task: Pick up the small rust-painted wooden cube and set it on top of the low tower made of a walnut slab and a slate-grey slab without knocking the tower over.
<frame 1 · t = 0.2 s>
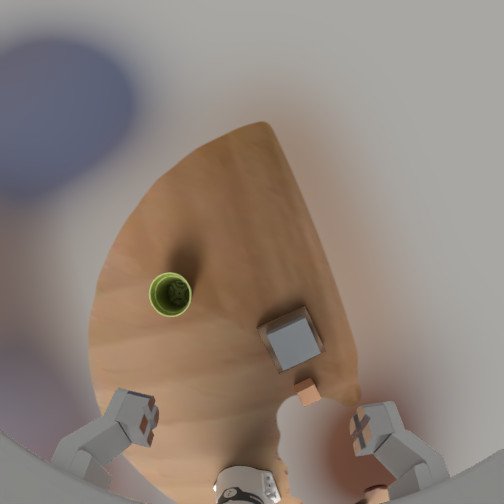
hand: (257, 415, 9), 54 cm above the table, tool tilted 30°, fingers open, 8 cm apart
plant pot: (180, 292, 63), on the table
rust cube: (305, 388, 61), on the table
lower tower block: (290, 337, 62), on the table, touching upper tower block
upper tower block: (292, 341, 59), point 3 cm above the table, touching lower tower block
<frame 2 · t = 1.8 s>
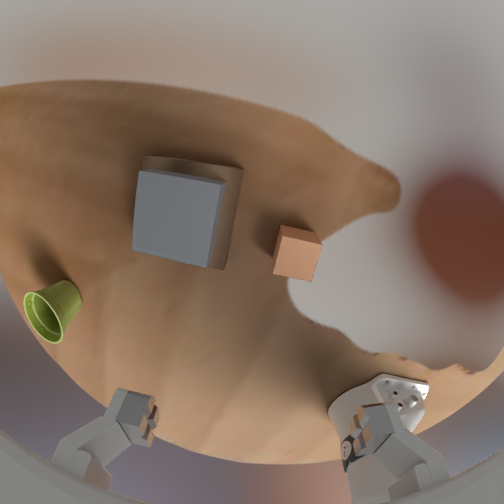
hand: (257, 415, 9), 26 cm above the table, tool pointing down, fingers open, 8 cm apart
plant pot: (70, 294, 40), on the table
rust cube: (293, 245, 34), on the table
lower tower block: (190, 206, 34), on the table, touching upper tower block
upper tower block: (181, 212, 31), point 3 cm above the table, touching lower tower block
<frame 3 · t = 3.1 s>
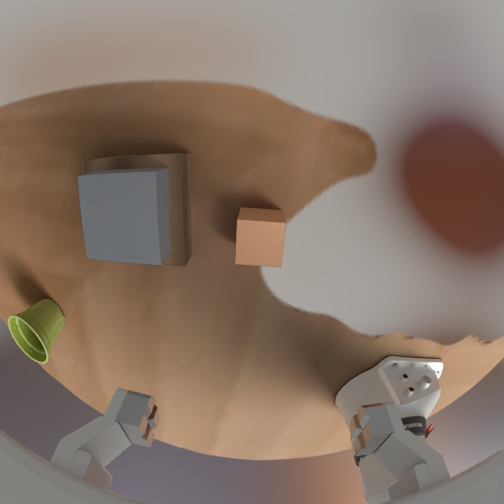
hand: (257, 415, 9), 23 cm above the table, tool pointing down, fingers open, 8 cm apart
plant pot: (53, 311, 37), on the table
rust cube: (260, 227, 30), on the table
lower tower block: (143, 204, 30), on the table, touching upper tower block
upper tower block: (131, 210, 27), point 3 cm above the table, touching lower tower block
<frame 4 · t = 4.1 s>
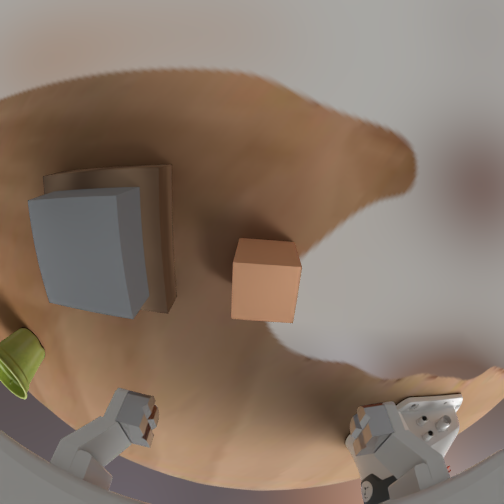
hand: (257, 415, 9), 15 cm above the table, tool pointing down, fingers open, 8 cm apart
plant pot: (32, 341, 30), on the table
rust cube: (264, 264, 23), on the table
lower tower block: (116, 230, 23), on the table, touching upper tower block
upper tower block: (97, 242, 20), point 3 cm above the table, touching lower tower block
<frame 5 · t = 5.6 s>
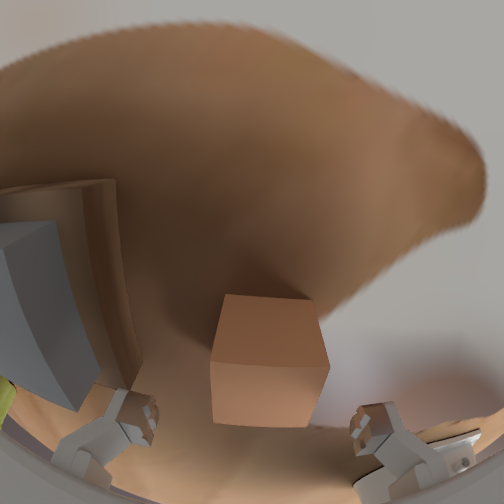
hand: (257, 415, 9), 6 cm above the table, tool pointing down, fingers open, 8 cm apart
plant pot: (2, 375, 22), on the table
rust cube: (265, 330, 15), on the table
lower tower block: (57, 271, 15), on the table, touching upper tower block
upper tower block: (25, 296, 11), point 3 cm above the table, touching lower tower block
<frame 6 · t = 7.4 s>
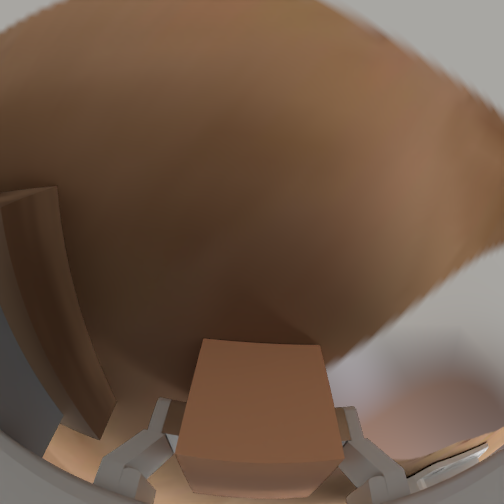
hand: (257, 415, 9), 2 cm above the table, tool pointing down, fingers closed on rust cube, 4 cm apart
rust cube: (257, 380, 11), on the table, touching gripper
lower tower block: (15, 296, 11), on the table, touching upper tower block
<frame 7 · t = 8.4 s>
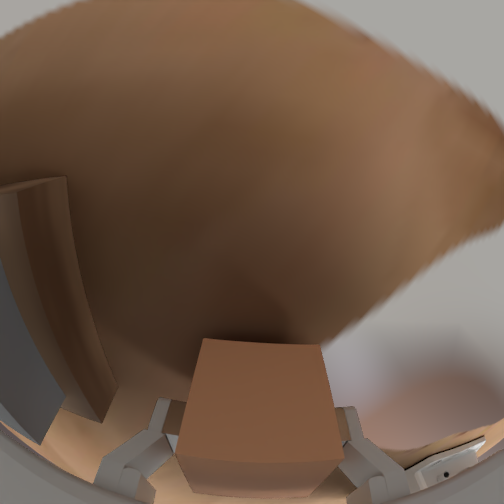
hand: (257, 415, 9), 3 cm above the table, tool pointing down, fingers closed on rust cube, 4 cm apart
rust cube: (257, 380, 11), point 1 cm above the table, touching gripper
lower tower block: (21, 284, 11), on the table, touching upper tower block
when the fingers open (11 cm above the table, at t = 14.5 s): rust cube drops 2 cm, resting on upper tower block.
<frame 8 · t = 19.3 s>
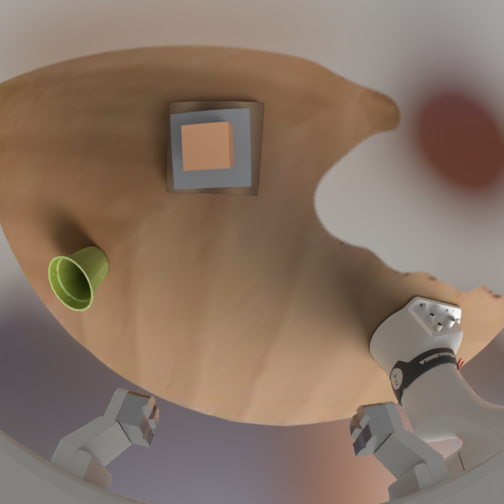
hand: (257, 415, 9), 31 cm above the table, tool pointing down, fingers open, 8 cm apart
plant pot: (95, 261, 42), on the table
rust cube: (213, 146, 28), point 6 cm above the table, touching upper tower block
lower tower block: (217, 146, 35), on the table, touching upper tower block
upper tower block: (214, 148, 32), point 3 cm above the table, touching lower tower block, rust cube
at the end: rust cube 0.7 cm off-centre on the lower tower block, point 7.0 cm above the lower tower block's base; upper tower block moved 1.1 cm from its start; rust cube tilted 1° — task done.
